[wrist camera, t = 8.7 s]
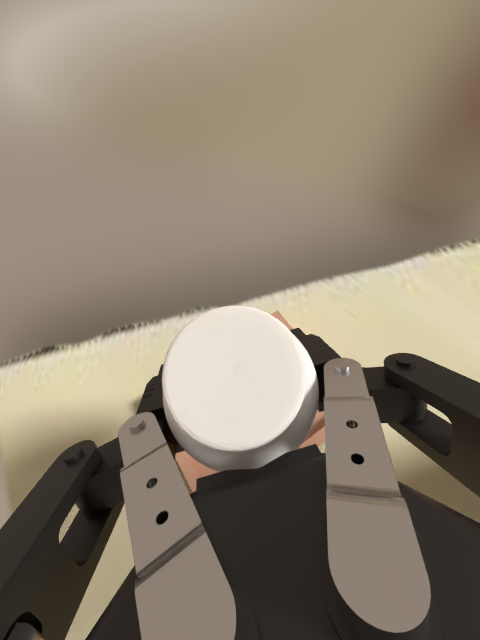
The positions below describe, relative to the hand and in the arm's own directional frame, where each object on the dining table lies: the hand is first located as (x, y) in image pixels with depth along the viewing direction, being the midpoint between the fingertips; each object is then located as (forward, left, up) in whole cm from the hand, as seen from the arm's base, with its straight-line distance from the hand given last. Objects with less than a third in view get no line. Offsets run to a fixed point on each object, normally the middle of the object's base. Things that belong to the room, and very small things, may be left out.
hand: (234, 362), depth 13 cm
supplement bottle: (+1, +2, -4) cm, 5 cm away
